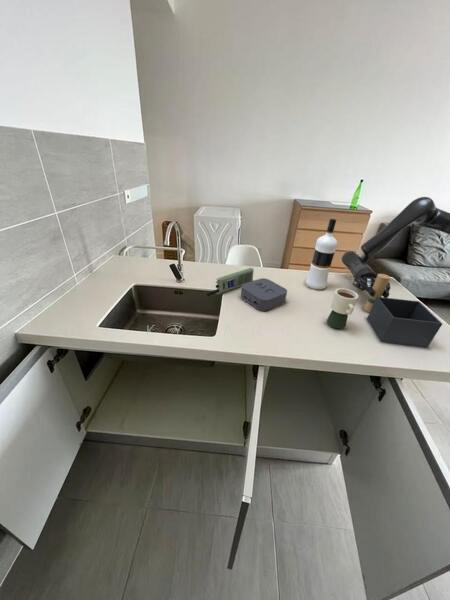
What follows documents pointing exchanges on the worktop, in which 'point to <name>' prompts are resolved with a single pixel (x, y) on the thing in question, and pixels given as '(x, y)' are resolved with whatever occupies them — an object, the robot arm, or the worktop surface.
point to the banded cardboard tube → (377, 290)
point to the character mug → (342, 307)
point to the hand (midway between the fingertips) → (380, 295)
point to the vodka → (322, 259)
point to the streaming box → (263, 294)
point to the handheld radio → (232, 281)
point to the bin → (403, 322)
